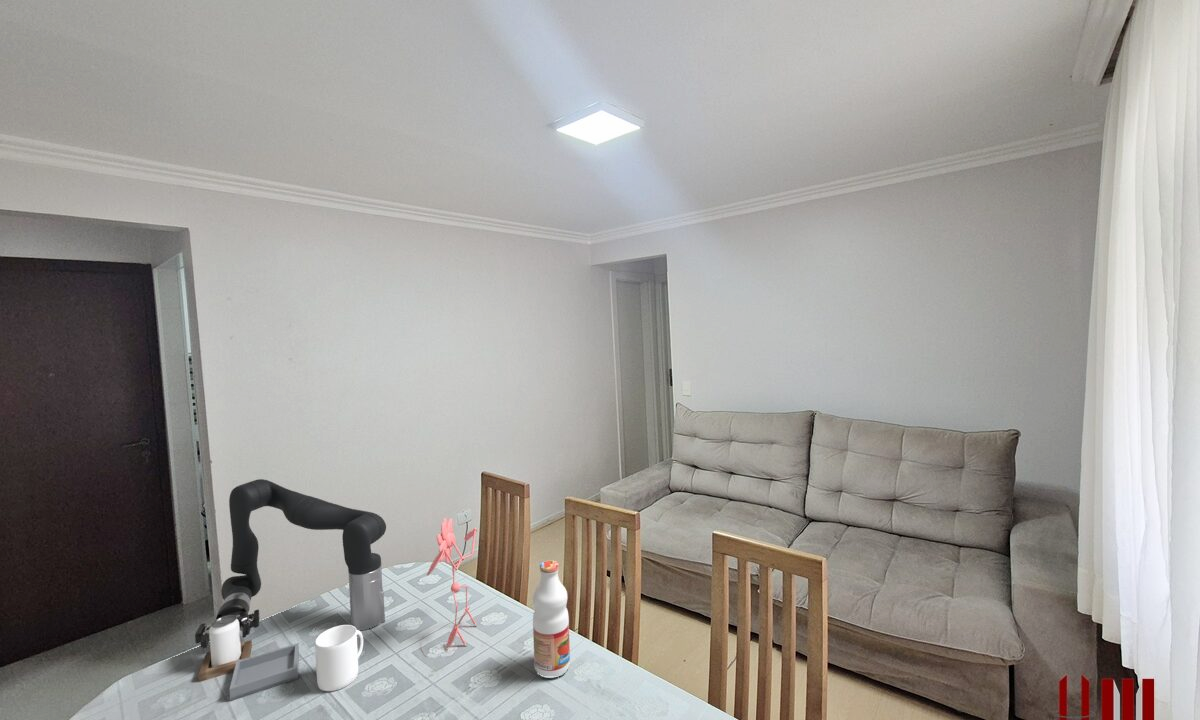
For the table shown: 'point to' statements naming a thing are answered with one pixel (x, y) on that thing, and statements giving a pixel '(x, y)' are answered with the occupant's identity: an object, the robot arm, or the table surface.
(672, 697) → the table surface
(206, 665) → the walnut collar
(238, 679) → the grey shallow rectangular tray
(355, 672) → the mug
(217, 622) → the can
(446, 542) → the figurine
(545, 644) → the fruit juice
